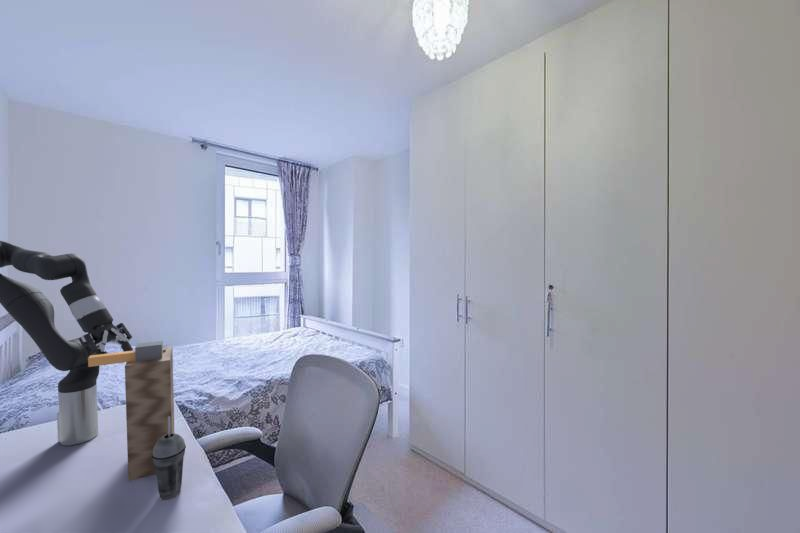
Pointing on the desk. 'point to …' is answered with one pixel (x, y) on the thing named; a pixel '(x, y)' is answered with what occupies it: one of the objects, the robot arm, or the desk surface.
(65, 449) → the desk surface
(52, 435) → the desk surface
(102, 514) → the desk surface
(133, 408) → the brown wooden tall block
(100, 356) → the mallet
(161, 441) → the beverage cup
